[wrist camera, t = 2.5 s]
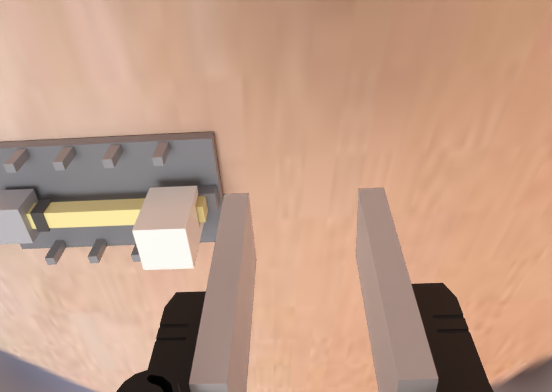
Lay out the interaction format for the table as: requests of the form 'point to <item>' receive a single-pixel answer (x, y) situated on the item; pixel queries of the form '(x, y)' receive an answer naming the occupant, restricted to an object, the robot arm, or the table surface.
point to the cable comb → (100, 188)
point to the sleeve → (168, 228)
